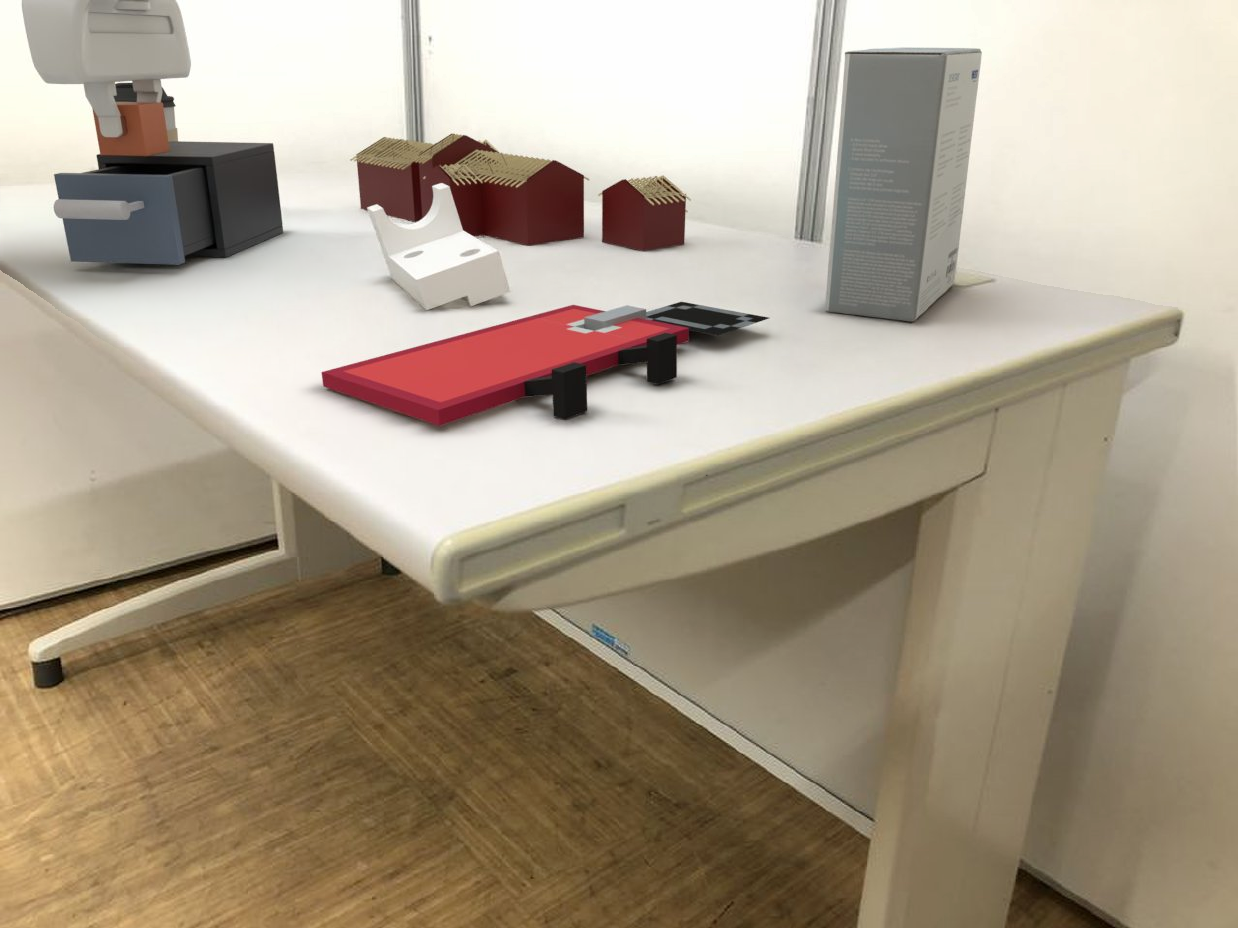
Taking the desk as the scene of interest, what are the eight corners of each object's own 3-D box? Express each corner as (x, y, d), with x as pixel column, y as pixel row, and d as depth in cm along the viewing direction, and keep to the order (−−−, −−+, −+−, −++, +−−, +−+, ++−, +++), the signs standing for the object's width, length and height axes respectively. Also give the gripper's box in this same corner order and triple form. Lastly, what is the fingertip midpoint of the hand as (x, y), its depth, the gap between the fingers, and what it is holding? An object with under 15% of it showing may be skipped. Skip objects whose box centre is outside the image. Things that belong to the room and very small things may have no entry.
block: (99, 155, 93) (91, 104, 91) (125, 150, 97) (117, 101, 95) (146, 156, 93) (138, 105, 91) (170, 151, 97) (163, 102, 95)
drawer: (155, 274, 89) (140, 183, 86) (42, 271, 90) (23, 180, 87) (242, 238, 106) (232, 160, 103) (146, 236, 107) (133, 158, 104)
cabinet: (226, 257, 101) (212, 157, 97) (113, 254, 102) (95, 154, 98) (283, 232, 115) (273, 143, 111) (184, 230, 115) (170, 141, 112)
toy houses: (341, 210, 130) (333, 126, 126) (476, 197, 142) (473, 120, 138) (563, 266, 99) (562, 157, 95) (711, 242, 111) (715, 145, 107)
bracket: (395, 287, 94) (366, 207, 90) (466, 262, 96) (441, 183, 92) (430, 321, 83) (399, 231, 79) (510, 291, 85) (484, 202, 81)
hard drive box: (870, 277, 96) (895, 47, 88) (954, 286, 92) (987, 48, 85) (820, 312, 83) (844, 47, 75) (916, 324, 80) (950, 48, 72)
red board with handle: (791, 334, 75) (636, 304, 84) (793, 296, 74) (636, 270, 83) (485, 449, 55) (324, 393, 64) (482, 399, 53) (318, 350, 63)
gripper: (133, -25, 99) (156, 125, 104) (-5, -42, 80) (31, 143, 85) (196, -25, 98) (215, 126, 104) (72, -41, 79) (104, 145, 85)
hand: (131, 134), depth 94 cm, fingers closed on block, 4 cm apart
